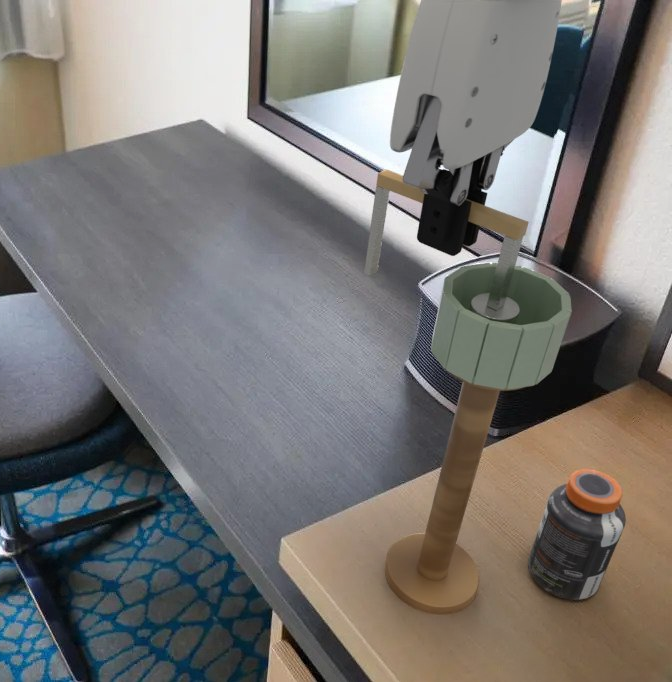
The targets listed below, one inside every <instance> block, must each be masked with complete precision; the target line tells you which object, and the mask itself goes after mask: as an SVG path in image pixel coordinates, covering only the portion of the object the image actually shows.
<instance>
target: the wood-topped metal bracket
mask: <svg viewBox="0 0 672 682" xmlns="http://www.w3.org/2000/svg"><path fill="white" fill-rule="evenodd" d="M403 175H404V174H401V173H398V172H395V171H392V170H390V169H383V170H382V171H380V172H378V174H377V179H376V186H375V192H374V198H373V206H372V214H371V221H370V227H369V235H368V240H367V241H368V242H367V249H366V258H365V264H364V272H363V273H364V275H367V276H369V277H371V276H373V275H374V274H376V273H377V272H378V271H379V265H380V257H381V250H382V244H383V238H384V232H385V231H384V230H385V224H386V219H387V211H388V205H389V199H390V198H389V197H390V192H392V193H394V194H397V195H399V196H402V197H405V198H408V199H410V200H413V201H415V202H418V203H419V204H423V199H424V193H422V192H421V189H419V188H416V187H413V186H411V185H408V184H405V183H403ZM466 200H467V201H470V202H472V204H471V209H470V213H469V218H468V221H469V222H471V223H474V224H477V225H479V226H480V227H481V228H484V229H488V230H489V231H493V232H494V233H497V234H499V235H503V236H504V237H503V240H502V245H501V249H500V253H499V256H498V260H497V263H498V264H497V267H496V271H495V275H494V279H493V283H492V287H491V290H490V293H483V294H479V295H476V296H475V297H473V298H472V300H471V302H470V307H469V311H471V312H473V313H476V314H478V315H480V316H482V317H484V318H486V319H489V320H491V321H497V322H504V323H510V324H517V320H518V317H519V313H520V307H519V305H518V304H517V303H516V302H515V301H514V300H513V299H511V298H509V297H507V293H508V290H509V286H510V283H511V279H512V275H513V272H514V268H515V265H517V261H518V257H519V253H520V250H521V246H522V242H523V240H524V236H526V235H527V234H526V233H527V230H528V226H529V221H528V220H525V219H523V218H520V217H517V216H515V215H511V214H508V213H505V212H503V211H500V210H498V209H496V208H492V207H489V206H488V205H485V206H484V205H482V204H479V203H476V202H474V201H471V200H468V199H466Z"/></svg>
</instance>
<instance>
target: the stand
mask: <svg viewBox="0 0 672 682" xmlns="http://www.w3.org/2000/svg"><path fill="white" fill-rule="evenodd" d="M448 373H449V375H452V376H453V377H454V378H456V379H458V380H459V381H461V382H462V384H461V387H460V392H459V395H458V400H457V402H456V403H457V404H456V407H455V411H454V415H453V419H452V424H451V427H450V430H449V431H450V432H449V436H448V439H447V444H446V448H445V450H444V451H445V452H444V456H443V460H442V463H441V467H440V471H439V475H438V476H439V477H438V480H437V484H436V488H435V491H434V496H433V500H432V505H431V509H430V512H429V516H428V520H427V524H426V528H425V532H424V533H423V532H421V533H420V532H419V533H412V534H408V535H405V536H403V537H401V538H399V539H398V540H396V541H395V542H394V543H393V544H392V545H391V547H390V548H389V549H388V552H387V555H386V560H385V564H384V573H385V578H386V581H387V583H388V585H389V587H390V589H391V591H392V592H393V593H394V594H395V595H396V596H397V598H399V599H400V600H401V601H402V602H403V603H405V604H407V605H408V606H410V607H411V608H413V609H415V610H418V611H420V612H423V613H425V614H431V615H451V614H456V613H458V612H460V611H461V612H462V611H463V610H464V609H466V608H468V606H470V605H471V603H472V602H473V600H474V599H475V597H476V594H477V591H478V588H479V584H480V575H479V570H478V567H477V565H476V563H475V561H474V559H473V558H472V556H471V555H470V554H469V553H468V551H466V550H465V549H464V548H463V547H462V546H460V545H459V544H457V542H458V541H457V540H458V538H459V534H460V531H461V527H462V523H463V520H464V517H465V514H466V509H467V507H468V503H469V499H470V496H471V492H472V489H473V486H474V482H475V479H476V477H477V472H478V468H479V464H480V461H481V458H482V455H483V452H484V448H485V444H486V441H487V437H488V433H489V430H490V426H491V423H492V421H493V417H494V413H495V410H496V406H497V403H498V400H499V396H500V392H505V391H506V392H507V391H508V392H509V391H516V390H521V389H524V388H525V387H522V388H516V389H509V390H507V389H505V390H503V389H497V388H491V387H486V386H480V385H475V384H474V383H469V382H467V381H465V380H463V379H461V378H460V377H458V376H456V375H454V374H452V373H450V372H448Z"/></svg>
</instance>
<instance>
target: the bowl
mask: <svg viewBox="0 0 672 682" xmlns="http://www.w3.org/2000/svg"><path fill="white" fill-rule="evenodd" d="M497 264H498V262H493V261H491V262H490V261H487V262H481V263H474V264H473V263H472V264H466V265H463V266H459V267H458V268H456V270H453V271H452V272H451V273H449V274H447V275H446V276H445V277H444V279H443V283H442V289H441V295H440V299H439V303H438V308H437V313H436V319H435V322H434V327H433V332H432V339H431V346H430V351H431V353H432V355H433V356H434V358H435V359H436V360H437V361H438V362H439V364H440V365H441V367H443V369H444V370H445V371H447V372H448V373H449V372H450V373H452V374H454V375H456V376H458V377H460V378H461V379H463V380H465V381H467V382H469V383H474V384H475V385H480V386H486V387H491V388H497V389H503V390H505V389H507V390H509V389H516V388H521V389H523V388H522V387H524V388H527V387H533V386H535V385H538V384H539V383H540V382H541V381H542V380H544V379H545V378H546V377H547V376H548V375H550V374H551V373H552V371H553V369H554V366H555V363H556V361H557V357H558V354H559V351H560V348H561V345H562V342H563V339H564V336H565V333H566V331H567V327H568V324H569V322H570V318H571V315H572V312H573V311H572V310H573V309H572V301H571V295H570V293H569V292H568V291H567V290H566V289H565V288H563V287H562V286H561V285H560V284H559V283H558V282H557V281H556V280H555V279H554V278H551V277H550V276H548V275H546V274H543V273H540V272H538V271H536V270H533V269H531V268H528V267H526V266H523V267H522V265H518V264H516V265H515V268H514V272H513V275H512V279H511V283H510V286H509V290H508V293H507V297H509V298H511V299H513V300H514V301H515V302H516V303H517V304H518V305H519V307H520V313H519V317H518V320H517V324H510V323H504V322H497V321H491V320H489V319H486V318H484V317H482V316H480V315H478V314H476V313H473V312H471V311H469V307H470V302H471V300H472V298H473V297H475V296H476V295H479V294H483V293H490V290H491V287H492V283H493V279H494V275H495V271H496V267H497ZM450 373H449V374H450ZM452 374H451V375H452ZM516 390H517V389H516ZM509 391H510V390H509Z"/></svg>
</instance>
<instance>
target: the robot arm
mask: <svg viewBox="0 0 672 682" xmlns="http://www.w3.org/2000/svg"><path fill="white" fill-rule="evenodd" d="M562 1H563V0H420V1H419V2H420V3H419V4H418V8H417V11H416V14H415V18H414V21H413V23H412V24H413V25H412V28H411V30H410V34H409V39H408V42H407V47H406V50H405V53H404V59H403V63H402V67H401V68H402V69H401V73H400V78H399V82H398V87H397V91H396V96H395V103H394V107H393V108H394V109H393V114H392V118H391V119H392V120H391V125H390V132H389V147H390V149H391V151H393V152H395V153H404V152H407V151H410V150H411V151H410V153H409V157H408V160H407V163H406V165H405V169H404V172H403V174H402V175H403V183H405V184H408V185H411V186H413V187H416V188H419V189H421V192H422V193H424V199H423V203H421V204H422V205H421V211H420V217H419V223H418V227H417V234H416V239H417V241H418V242H419V243H420V244H422V245H424V246H427V247H429V248H432V249H434V250H436V251H438V252H441V253H443V254H446V255H448V256H451V257H455V256H457V255H459V254H460V253H461V252H462V249H463V246H465V247H471V246H473V245H474V244H476V243H477V241H478V237H479V232H480V228H481V226H479V225H477V224H474V223H471V222H469V221H468V218H469V213H470V209H471V204H472V202H470V201H467V200H466V199H468V200H471V201H474V202H476V203H479V204H482V205H484V206H486V201H487V198H488V192H486V191H488V190H489V189H490V188H491V187H492V186H493V184H494V181H495V179H496V178H495V177H496V174H497V170H498V167H499V163H500V160H501V157H502V156H503V155H504V151H505V150H506V148H507V147H508V146H510V144H512V143H513V141H515V139H517V138H519V137H521V136H522V135H524V134H525V133H526V132H527V131H528V130H529V129H530V128H531V127H532V126H533V124H534V122H535V120H536V117H537V115H538V112H539V109H540V106H541V104H542V103H541V102H542V99H543V96H544V92H545V88H546V84H547V80H548V76H549V71H550V66H551V62H552V57H553V53H554V47H555V43H556V37H557V32H558V26H559V21H560V16H561V10H562ZM442 166H443V168H441V167H442Z"/></svg>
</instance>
